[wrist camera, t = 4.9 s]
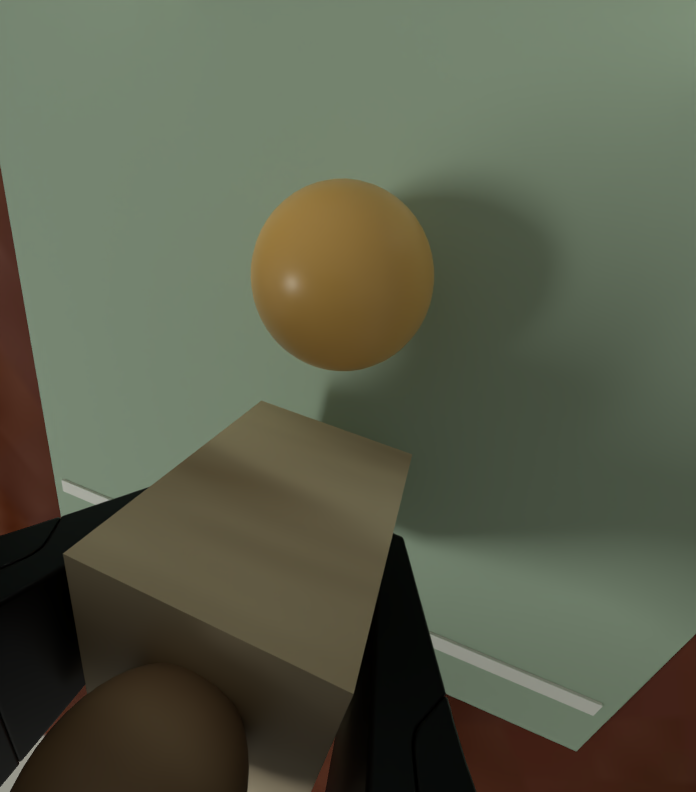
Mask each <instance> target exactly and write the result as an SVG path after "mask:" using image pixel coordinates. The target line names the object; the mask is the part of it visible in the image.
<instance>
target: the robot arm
mask: <svg viewBox="0 0 696 792" xmlns="http://www.w3.org/2000/svg"><path fill="white" fill-rule="evenodd" d="M147 488H149V487H147ZM147 488H144V489H141V490H138V491H135V492H132V493H129V494H126V495H123V496H120V497H117V498H114V499H111V500H108V501H105V502H102V503H99V504H96V505H93V506H90V507H87V508H84V509H81V510H79V511H76V512H73V513H70V514H67V515H64V516H62V517H61V519H60V518H59V517H57V518H54V519H51V520H48V521H45V522H42V523H39V524H36V525H33V526H30V527H27V528H24V529H21V530H17V531H14V532H11V533H8V534H5V535H1V536H0V787H1V785H2V784H3V783H4V782H5V781H6V779H7V778H8V777H9V776H10V775H11V773H12V772H13V771H14V770H15V769H16V767H17V766H18V765H19V762H20V761H22V760H23V759H24V757H25V756H26V755H27V754H28V752H29V751H30V750H31V749H32V748H33V746H34V745H35V744H36V743H37V742H38V740H39V739H40V738H41V737H42V736H43V734H44V733H45V732H46V731H47V730H48V728H49V727H50V726H51V725H52V724H53V722H54V721H55V720H56V719H57V718H58V716H59V715H60V714H61V713H62V712H63V710H64V709H65V708H66V707H67V706H68V704H69V703H70V702H71V701H72V700H73V698H74V697H75V696H76V695H77V694H78V692H79V691H80V690H81V689H82V688H83V686H84V685H85V678H84V672H83V667H82V661H81V655H80V649H79V644H78V638H77V632H76V626H75V620H74V615H73V609H72V603H71V597H70V592H69V586H68V580H67V574H66V569H65V563H64V557H63V553H64V552H66V551H67V550H68V549H70V548H71V547H72V546H74V545H75V544H76V543H77V542H79V541H80V540H81V539H83V538H84V537H85V536H87V535H88V534H89V533H90V532H92V531H93V530H94V529H96V528H97V527H98V526H99V525H101V524H102V523H103V522H105V521H106V520H107V519H109V518H110V517H111V516H112V515H114V514H115V513H116V512H118V511H119V510H120V509H122V508H123V507H124V506H125V505H127V504H128V503H129V502H131V501H132V500H133V499H134V498H136V497H137V496H138V495H140V494H141V493H142V492H144V491H145V490H146V489H147ZM445 695H446V691H445V688H444V684H443V680H442V677H441V673H440V669H439V666H438V662H437V658H436V655H435V651H434V647H433V644H432V640H431V636H430V633H429V629H428V625H427V622H426V618H425V615H424V611H423V607H422V604H421V600H420V596H419V593H418V589H417V585H416V582H415V578H414V574H413V571H412V567H411V563H410V560H409V556H408V552H407V549H406V545H405V541H404V539H403V537H401V536H399V535H397V534H394V533H393V535H392V539H391V543H390V547H389V552H388V556H387V560H386V564H385V568H384V572H383V576H382V580H381V584H380V588H379V592H378V596H377V600H376V605H375V609H374V613H373V617H372V621H371V625H370V629H369V633H368V637H367V641H366V645H365V649H364V653H363V658H362V662H361V666H360V670H359V674H358V678H357V682H356V686H355V690H354V694H353V696H352V699H351V701H350V703H349V706H348V708H347V710H346V712H345V715H344V717H343V719H342V722H341V724H340V726H339V728H338V731H337V733H336V736H335V741H334V747H333V752H332V758H331V763H330V769H329V774H328V780H327V785H326V791H325V792H476V789H475V786H474V784H473V781H472V778H471V775H470V772H469V769H468V766H467V763H466V760H465V757H464V754H463V750H462V747H461V744H460V740H459V737H458V734H457V730H456V727H455V724H454V720H453V716H452V713H451V709H450V705H449V702H448V699H447V697H445Z"/></svg>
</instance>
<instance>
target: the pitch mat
mask: <svg viewBox="0 0 696 792" xmlns="http://www.w3.org/2000/svg"><path fill="white" fill-rule="evenodd" d="M0 165H1V171H2V177H3V183H4V189H5V194H6V200H7V206H8V212H9V218H10V223H11V229H12V235H13V241H14V246H15V252H16V258H17V264H18V270H19V275H20V281H21V287H22V293H23V299H24V304H25V310H26V316H27V322H28V327H29V333H30V339H31V345H32V351H33V356H34V362H35V368H36V374H37V380H38V385H39V391H40V397H41V403H42V408H43V414H44V420H45V426H46V432H47V437H48V443H49V449H50V455H51V461H52V466H53V472H54V478H55V484H56V490H57V495H58V501H59V507H60V513H61V517H62V516H64V515H67V514H70V513H73V512H76V511H79V510H81V509H84V508H87V507H90V506H93V505H96V504H99V503H102V502H105V501H108V500H111V499H114V498H117V497H120V496H123V495H126V494H129V493H132V492H135V491H138V490H141V489H144V488H147V487H150V486H151V485H153V484H154V483H155V482H157V481H158V480H159V479H160V478H162V477H163V476H164V475H166V474H167V473H168V472H169V471H171V470H172V469H173V468H175V467H176V466H177V465H179V464H180V463H181V462H182V461H184V460H185V459H186V458H188V457H189V456H190V455H192V454H193V453H194V452H195V451H197V450H198V449H199V448H201V447H202V446H203V445H204V444H206V443H207V442H208V441H210V440H211V439H212V438H214V437H215V436H216V435H217V434H219V433H220V432H221V431H223V430H224V429H225V428H227V427H228V426H229V425H230V424H232V423H233V422H234V421H236V420H237V419H238V418H240V417H241V416H242V415H243V414H245V413H246V412H247V411H249V410H250V409H251V408H252V407H254V406H255V405H256V404H258V403H259V402H260V401H264V402H267V403H270V404H273V405H275V406H278V407H281V408H284V409H287V410H289V411H292V412H295V413H298V414H301V415H303V416H306V417H309V418H312V419H315V420H317V421H320V422H323V423H326V424H329V425H331V426H334V427H337V428H340V429H343V430H345V431H348V432H351V433H354V434H357V435H359V436H362V437H365V438H368V439H371V440H373V441H376V442H379V443H382V444H385V445H387V446H390V447H393V448H396V449H399V450H401V451H404V452H407V453H410V454H412V458H411V462H410V466H409V470H408V474H407V478H406V482H405V486H404V490H403V494H402V499H401V503H400V507H399V511H398V515H397V519H396V523H395V527H394V531H393V533H394V534H397V535H399V536H401V537H403V539H404V541H405V545H406V549H407V552H408V556H409V560H410V563H411V567H412V571H413V574H414V578H415V582H416V585H417V589H418V593H419V596H420V600H421V604H422V607H423V611H424V615H425V618H426V622H427V625H428V629H429V633H430V636H431V640H432V644H433V647H434V651H435V655H436V658H437V662H438V666H439V669H440V673H441V677H442V680H443V684H444V688H445V691H446V694H448V695H450V696H452V697H455V698H457V699H459V700H461V701H464V702H466V703H468V704H470V705H473V706H475V707H477V708H479V709H482V710H484V711H486V712H488V713H491V714H493V715H495V716H498V717H500V718H502V719H504V720H507V721H509V722H511V723H513V724H516V725H518V726H520V727H522V728H525V729H527V730H529V731H531V732H534V733H536V734H538V735H540V736H543V737H545V738H547V739H549V740H552V741H554V742H556V743H559V744H561V745H563V746H565V747H568V748H570V749H572V750H574V751H577V750H578V749H579V748H580V747H581V746H582V745H583V744H584V743H585V742H586V741H587V740H588V739H589V738H590V737H591V736H592V735H593V734H594V733H595V732H596V731H597V730H598V729H599V728H600V727H601V726H602V725H603V724H605V723H606V722H607V721H608V720H609V719H610V718H611V717H612V716H613V715H614V714H615V713H616V712H617V711H618V710H619V709H620V708H621V707H622V706H623V705H624V704H625V703H626V702H627V701H628V700H629V699H630V698H631V697H632V696H633V695H634V694H635V693H636V692H637V691H638V690H639V689H640V688H641V687H642V686H643V685H644V684H645V683H646V682H647V681H648V680H649V679H650V678H651V677H652V676H653V675H654V674H655V673H656V672H657V671H658V670H659V669H660V668H661V667H662V666H663V665H664V664H665V663H666V662H668V661H669V660H670V659H671V658H672V657H673V656H674V655H675V654H676V653H677V652H678V651H679V650H680V649H681V648H682V647H683V646H684V645H685V644H686V643H687V642H688V641H689V640H690V639H691V638H692V637H693V636H694V635H695V634H696V0H0ZM342 178H348V179H355V180H361V181H364V182H368V183H371V184H374V185H376V186H378V187H381V188H383V189H385V190H387V191H388V192H390V193H391V194H393V195H394V196H396V197H397V198H398V199H399V200H401V201H402V202H403V203H404V204H405V205H406V206H407V207H408V208H409V209H410V211H411V212H412V213H413V214H414V215H415V217H416V218H417V220H418V221H419V223H420V225H421V226H422V228H423V230H424V232H425V235H426V237H427V239H428V242H429V245H430V249H431V252H432V258H433V264H434V286H433V294H432V298H431V303H430V306H429V309H428V312H427V314H426V317H425V319H424V321H423V322H422V324H421V326H420V328H419V329H418V331H417V332H416V334H415V335H414V336H413V338H412V339H411V340H410V341H409V342H408V343H407V344H406V345H405V346H404V347H403V348H402V349H401V350H400V351H398V352H397V353H396V354H395V355H393V356H392V357H390V358H388V359H387V360H385V361H383V362H381V363H379V364H376V365H374V366H371V367H368V368H365V369H361V370H355V371H332V370H325V369H321V368H317V367H314V366H312V365H309V364H307V363H305V362H303V361H301V360H299V359H297V358H296V357H294V356H293V355H291V354H290V353H288V352H287V351H286V350H285V349H284V348H282V347H281V346H280V345H279V344H278V343H277V342H276V340H275V339H274V338H273V337H272V336H271V334H270V333H269V332H268V330H267V329H266V327H265V325H264V324H263V322H262V320H261V318H260V316H259V313H258V311H257V308H256V305H255V302H254V299H253V293H252V288H251V262H252V255H253V251H254V248H255V244H256V241H257V238H258V236H259V234H260V231H261V229H262V227H263V226H264V224H265V222H266V220H267V219H268V217H269V216H270V215H271V213H272V212H273V211H274V210H275V209H276V208H277V207H278V206H279V205H280V204H281V203H282V202H283V201H284V200H285V199H286V198H288V197H289V196H290V195H292V194H293V193H294V192H296V191H298V190H300V189H301V188H303V187H305V186H307V185H310V184H313V183H316V182H319V181H324V180H330V179H342Z"/></svg>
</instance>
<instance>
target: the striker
mask: <svg viewBox="0 0 696 792" xmlns="http://www.w3.org/2000/svg"><path fill="white" fill-rule="evenodd" d="M411 458H412V454H410V453H407V452H404V451H401V450H399V449H396V448H393V447H390V446H387V445H385V444H382V443H379V442H376V441H373V440H371V439H368V438H365V437H362V436H359V435H357V434H354V433H351V432H348V431H345V430H343V429H340V428H337V427H334V426H331V425H329V424H326V423H323V422H320V421H317V420H315V419H312V418H309V417H306V416H303V415H301V414H298V413H295V412H292V411H289V410H287V409H284V408H281V407H278V406H275V405H273V404H270V403H267V402H264V401H260V402H259V403H258V404H256V405H255V406H254V407H252V408H251V409H250V410H249V411H247V412H246V413H245V414H243V415H242V416H241V417H240V418H238V419H237V420H236V421H234V422H233V423H232V424H230V425H229V426H228V427H227V428H225V429H224V430H223V431H221V432H220V433H219V434H217V435H216V436H215V437H214V438H212V439H211V440H210V441H208V442H207V443H206V444H204V445H203V446H202V447H201V448H199V449H198V450H197V451H195V452H194V453H193V454H192V455H190V456H189V457H188V458H186V459H185V460H184V461H182V462H181V463H180V464H179V465H177V466H176V467H175V468H173V469H172V470H171V471H169V472H168V473H167V474H166V475H164V476H163V477H162V478H160V479H159V480H158V481H157V482H155V483H154V484H153V485H151V486H150V487H149V488H147V489H146V490H145V491H144V492H142V493H141V494H140V495H138V496H137V497H136V498H134V499H133V500H132V501H131V502H129V503H128V504H127V505H125V506H124V507H123V508H122V509H120V510H119V511H118V512H116V513H115V514H114V515H112V516H111V517H110V518H109V519H107V520H106V521H105V522H103V523H102V524H101V525H99V526H98V527H97V528H96V529H94V530H93V531H92V532H90V533H89V534H88V535H87V536H85V537H84V538H83V539H81V540H80V541H79V542H77V543H76V544H75V545H74V546H72V547H71V548H70V549H68V550H67V551H66V552H64V553H63V557H64V563H65V569H66V574H67V580H68V586H69V592H70V597H71V603H72V609H73V615H74V620H75V626H76V632H77V638H78V644H79V649H80V655H81V661H82V667H83V672H84V678H85V684H86V690H87V695H86V696H84V697H83V698H82V699H81V700H80V701H78V702H77V703H76V704H75V705H74V706H73V707H72V708H71V709H70V710H68V711H67V712H66V713H65V714H64V715H63V716H62V718H61V719H60V720H59V721H58V722H57V723H56V724H55V725H54V726H53V727H52V728H51V729H50V731H49V732H48V733H47V734H46V736H45V737H44V738H43V740H42V741H41V742H40V743H39V745H38V746H37V747H36V749H35V750H34V752H33V753H32V755H31V756H30V758H29V759H28V761H27V762H26V764H25V765H24V767H23V769H22V770H21V772H20V774H19V776H18V778H17V780H16V781H15V783H14V785H13V787H12V789H11V791H10V792H311V790H312V788H313V786H314V783H315V781H316V779H317V777H318V774H319V772H320V770H321V767H322V765H323V763H324V761H325V758H326V756H327V754H328V751H329V749H330V747H331V744H332V742H333V740H334V738H335V735H336V733H337V731H338V728H339V726H340V724H341V722H342V719H343V717H344V715H345V712H346V710H347V708H348V706H349V703H350V701H351V699H352V696H353V694H354V690H355V686H356V682H357V678H358V674H359V670H360V666H361V662H362V658H363V653H364V649H365V645H366V641H367V637H368V633H369V629H370V625H371V621H372V617H373V613H374V609H375V605H376V600H377V596H378V592H379V588H380V584H381V580H382V576H383V572H384V568H385V564H386V560H387V556H388V552H389V547H390V543H391V539H392V535H393V531H394V527H395V523H396V519H397V515H398V511H399V507H400V503H401V499H402V494H403V490H404V486H405V482H406V478H407V474H408V470H409V466H410V462H411Z"/></svg>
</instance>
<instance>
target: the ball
mask: <svg viewBox="0 0 696 792" xmlns="http://www.w3.org/2000/svg"><path fill="white" fill-rule="evenodd" d="M433 286H434V264H433V258H432V252H431V249H430V245H429V242H428V239H427V237H426V235H425V232H424V230H423V228H422V226H421V225H420V223H419V221H418V220H417V218H416V217H415V215H414V214H413V213H412V212H411V211H410V209H409V208H408V207H407V206H406V205H405V204H404V203H403V202H402V201H401V200H399V199H398V198H397V197H396V196H394V195H393V194H391V193H390V192H388V191H387V190H385V189H383V188H381V187H378V186H376V185H374V184H371V183H368V182H364V181H361V180H355V179H348V178H342V179H330V180H324V181H319V182H316V183H313V184H310V185H307V186H305V187H303V188H301V189H300V190H298V191H296V192H294V193H293V194H292V195H290V196H289V197H288V198H286V199H285V200H284V201H283V202H282V203H281V204H280V205H279V206H278V207H277V208H276V209H275V210H274V211H273V212H272V213H271V215H270V216H269V217H268V219H267V220H266V222H265V224H264V226H263V227H262V229H261V231H260V234H259V236H258V238H257V241H256V244H255V248H254V251H253V255H252V262H251V288H252V293H253V299H254V302H255V305H256V308H257V311H258V313H259V316H260V318H261V320H262V322H263V324H264V325H265V327H266V329H267V330H268V332H269V333H270V334H271V336H272V337H273V338H274V339H275V340H276V342H277V343H278V344H279V345H280V346H281V347H282V348H284V349H285V350H286V351H287V352H288V353H290V354H291V355H293V356H294V357H296V358H297V359H299V360H301V361H303V362H305V363H307V364H309V365H312V366H314V367H317V368H321V369H325V370H332V371H355V370H361V369H365V368H368V367H371V366H374V365H376V364H379V363H381V362H383V361H385V360H387V359H388V358H390V357H392V356H393V355H395V354H396V353H397V352H398V351H400V350H401V349H402V348H403V347H404V346H405V345H406V344H407V343H408V342H409V341H410V340H411V339H412V338H413V336H414V335H415V334H416V332H417V331H418V329H419V328H420V326H421V324H422V322H423V321H424V319H425V317H426V314H427V312H428V309H429V306H430V303H431V298H432V294H433Z"/></svg>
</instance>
